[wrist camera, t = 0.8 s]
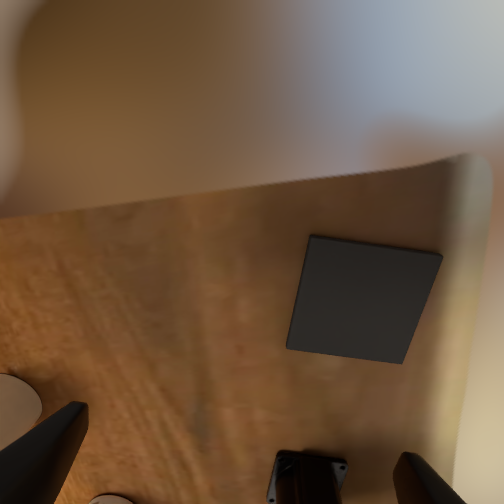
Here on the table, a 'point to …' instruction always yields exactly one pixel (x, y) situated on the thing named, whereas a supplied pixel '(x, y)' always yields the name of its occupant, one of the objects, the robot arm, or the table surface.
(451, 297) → the table surface
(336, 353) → the mat
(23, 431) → the jar
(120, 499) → the pill bottle
